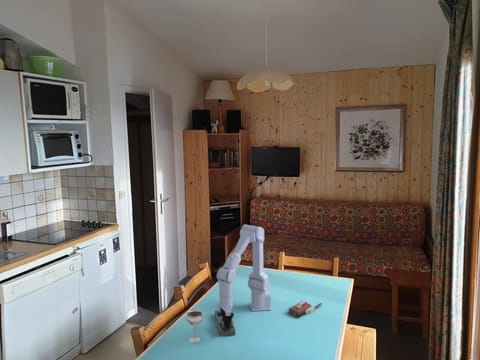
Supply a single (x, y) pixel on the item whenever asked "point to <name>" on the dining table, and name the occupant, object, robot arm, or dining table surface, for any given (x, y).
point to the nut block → (223, 324)
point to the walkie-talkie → (302, 309)
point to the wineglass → (194, 322)
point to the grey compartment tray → (223, 331)
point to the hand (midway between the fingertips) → (225, 323)
